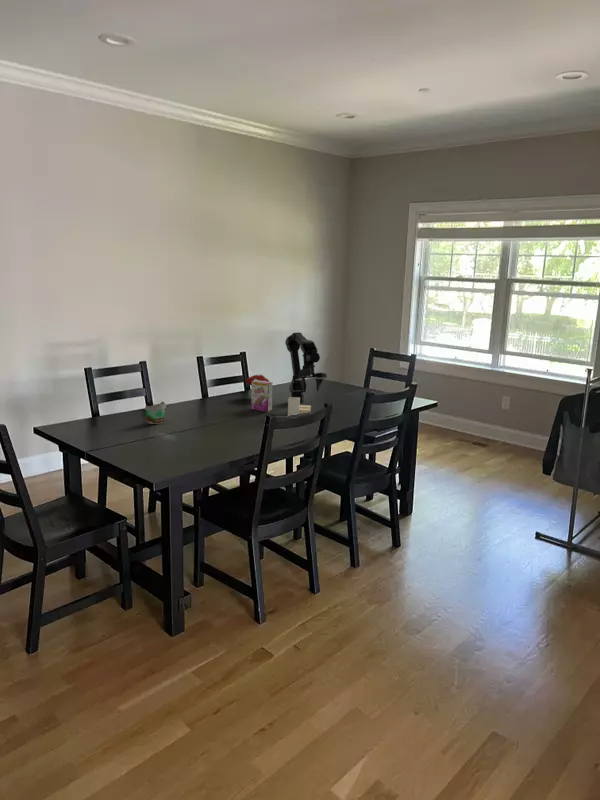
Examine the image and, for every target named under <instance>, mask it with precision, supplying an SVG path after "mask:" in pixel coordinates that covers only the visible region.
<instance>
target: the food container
mask: <svg viewBox="0 0 600 800" xmlns="http://www.w3.org/2000/svg"><path fill="white" fill-rule="evenodd" d="M166 408H167V405H166V403H165V401H160V403H157V404H156V403H155V404H152V405H145V408H144V410H145V415H146V423H147V422H149V423H160V422H163V421H165V409H166Z"/></svg>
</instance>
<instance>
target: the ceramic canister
mask: <svg viewBox="0 0 600 800" xmlns="http://www.w3.org/2000/svg"><path fill="white" fill-rule="evenodd" d="M300 405H301V403H300V397H291V396H289V397H288V399H287V417H288V416H290V415H297V414H300Z"/></svg>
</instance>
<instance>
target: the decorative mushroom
mask: <svg viewBox="0 0 600 800" xmlns="http://www.w3.org/2000/svg"><path fill="white" fill-rule="evenodd" d="M254 380H260V381H266V382H271V381H270V380H269V379H268V378H267V377H265V376H264V375H263V374H255V375H252V376H251V375H250V376H249V377H247V378H246V379H245V383H246V384H247V385H249V386H251V381H254Z"/></svg>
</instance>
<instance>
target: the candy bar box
mask: <svg viewBox="0 0 600 800" xmlns="http://www.w3.org/2000/svg"><path fill="white" fill-rule="evenodd" d="M273 385H274V384H273V381H272V382H271V381H270V382H266V381H260V380H254V381H251V385H250V386H251V387H250V388H251V389H250V392H251V393H250V394H251V395H250V410H251V409H254V410H253V411H257V410H261V411H260V412H264V411H267V412H266V413H269V412H268V411H270V410H272V411H273ZM270 412H271V411H270Z"/></svg>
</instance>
